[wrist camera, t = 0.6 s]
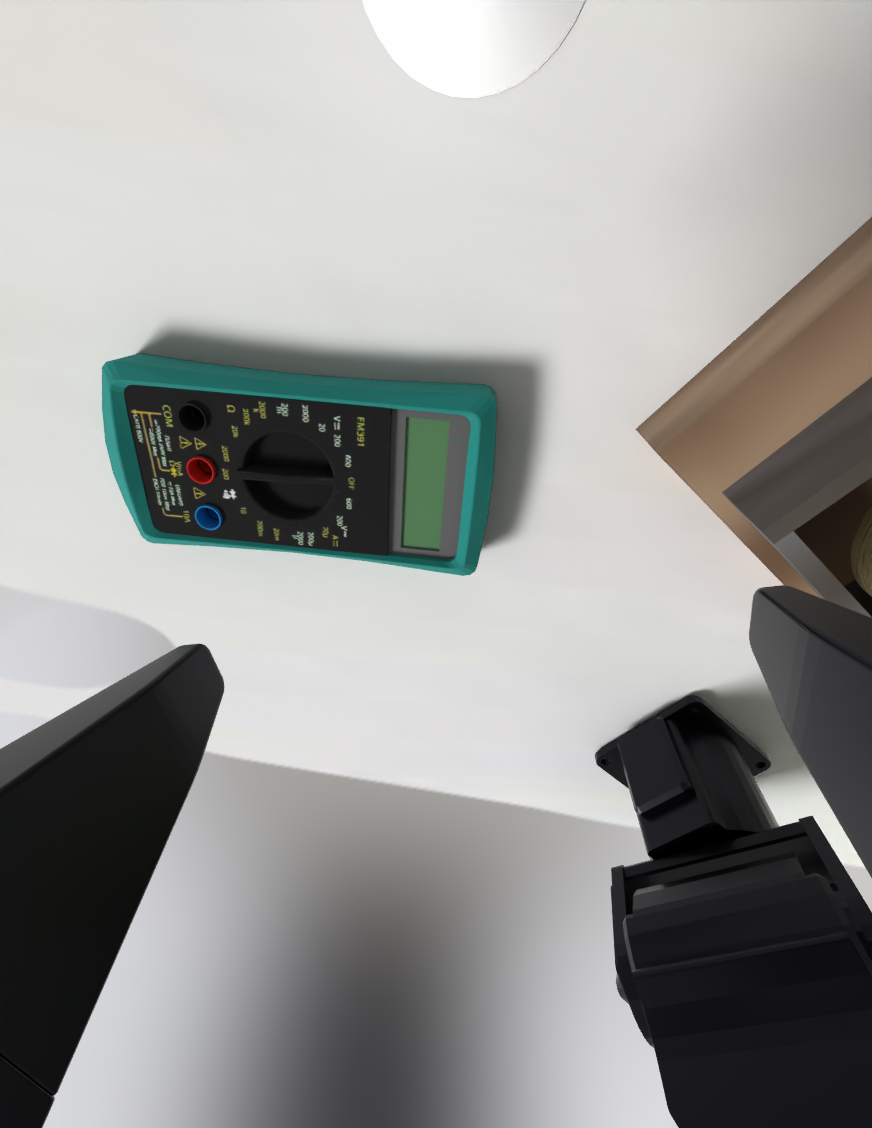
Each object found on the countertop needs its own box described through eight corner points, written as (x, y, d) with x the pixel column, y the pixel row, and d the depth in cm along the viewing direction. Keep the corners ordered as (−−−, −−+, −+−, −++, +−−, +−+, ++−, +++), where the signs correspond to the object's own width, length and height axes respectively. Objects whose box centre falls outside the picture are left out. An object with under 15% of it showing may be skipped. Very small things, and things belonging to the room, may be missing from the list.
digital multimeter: (122, 348, 21) (70, 361, 18) (502, 381, 20) (504, 400, 17) (159, 518, 24) (120, 548, 22) (480, 551, 24) (479, 586, 21)
